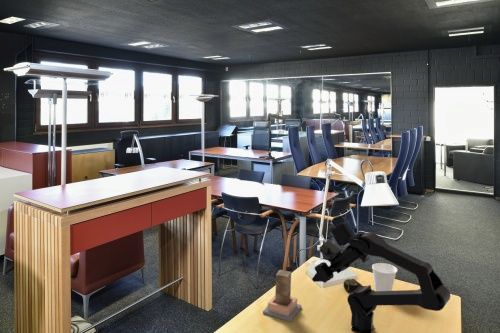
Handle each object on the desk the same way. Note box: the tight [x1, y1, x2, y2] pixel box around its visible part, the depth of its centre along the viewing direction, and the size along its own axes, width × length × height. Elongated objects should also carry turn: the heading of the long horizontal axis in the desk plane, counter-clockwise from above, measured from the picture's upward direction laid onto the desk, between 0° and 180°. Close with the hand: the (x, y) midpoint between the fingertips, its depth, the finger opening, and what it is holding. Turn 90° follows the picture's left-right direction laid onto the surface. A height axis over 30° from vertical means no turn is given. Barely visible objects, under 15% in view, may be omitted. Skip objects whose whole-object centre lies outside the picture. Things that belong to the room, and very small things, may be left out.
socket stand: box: [262, 295, 302, 323], centre depth 141 cm, size 11×11×4 cm
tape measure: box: [342, 278, 362, 293], centre depth 158 cm, size 7×7×4 cm
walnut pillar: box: [274, 269, 292, 306], centre depth 140 cm, size 4×4×14 cm
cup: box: [371, 262, 398, 291], centre depth 155 cm, size 10×10×11 cm
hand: (319, 276), depth 140 cm, fingers open, 9 cm apart
